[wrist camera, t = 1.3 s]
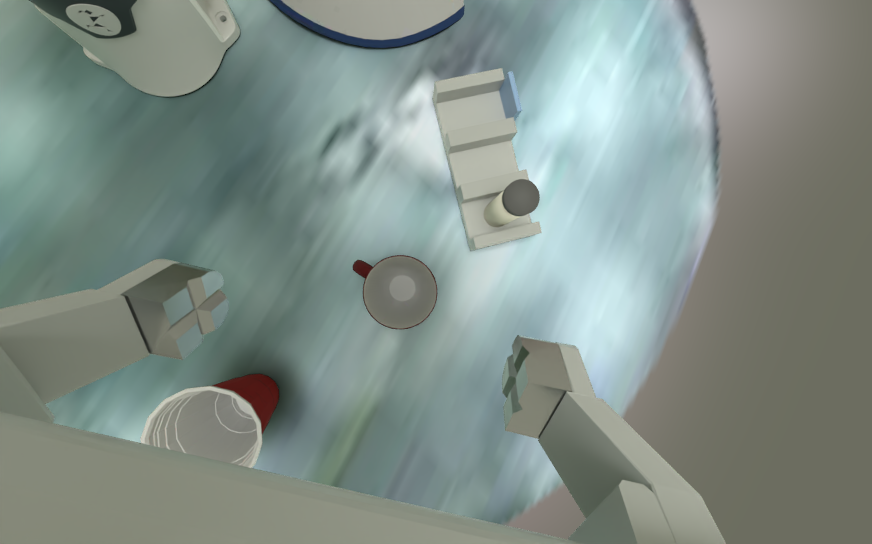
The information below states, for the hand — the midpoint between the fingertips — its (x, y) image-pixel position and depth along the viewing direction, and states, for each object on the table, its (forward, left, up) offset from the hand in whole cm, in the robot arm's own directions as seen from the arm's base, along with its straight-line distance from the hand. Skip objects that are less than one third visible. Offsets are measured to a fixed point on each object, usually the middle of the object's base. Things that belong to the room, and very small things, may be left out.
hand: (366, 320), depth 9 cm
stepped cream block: (-13, +15, -36) cm, 41 cm away
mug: (0, -1, -36) cm, 36 cm away
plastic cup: (+10, -22, -36) cm, 43 cm away
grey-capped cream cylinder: (-6, +15, -34) cm, 38 cm away
